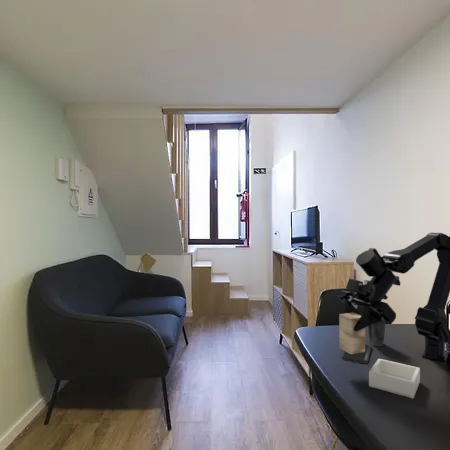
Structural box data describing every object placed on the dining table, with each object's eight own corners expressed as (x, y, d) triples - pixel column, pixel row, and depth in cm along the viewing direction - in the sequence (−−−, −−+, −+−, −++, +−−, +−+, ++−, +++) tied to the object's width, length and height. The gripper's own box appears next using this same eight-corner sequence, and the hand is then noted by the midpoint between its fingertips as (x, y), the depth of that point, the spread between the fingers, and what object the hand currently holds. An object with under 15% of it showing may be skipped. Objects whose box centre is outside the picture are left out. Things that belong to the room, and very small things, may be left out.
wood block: (353, 345, 103) (353, 312, 103) (365, 351, 99) (365, 317, 98) (339, 347, 102) (339, 314, 101) (351, 354, 97) (351, 318, 97)
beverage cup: (391, 347, 120) (391, 290, 119) (370, 347, 120) (370, 290, 120) (382, 340, 127) (382, 286, 127) (362, 340, 127) (362, 286, 127)
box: (378, 372, 101) (378, 358, 101) (419, 382, 95) (419, 367, 94) (368, 386, 92) (369, 371, 92) (413, 398, 86) (413, 382, 86)
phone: (372, 345, 120) (367, 361, 106) (372, 349, 120) (367, 365, 107) (348, 341, 123) (340, 356, 110) (348, 345, 123) (340, 360, 110)
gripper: (341, 264, 110) (312, 302, 106) (388, 273, 92) (354, 319, 89) (361, 287, 113) (333, 325, 109) (410, 300, 95) (378, 345, 92)
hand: (348, 327), depth 100 cm, fingers closed on wood block, 5 cm apart
